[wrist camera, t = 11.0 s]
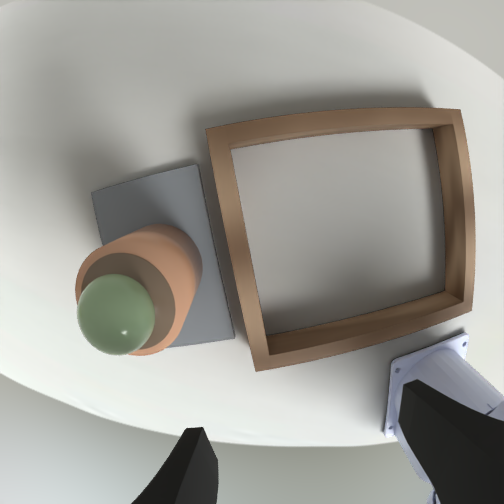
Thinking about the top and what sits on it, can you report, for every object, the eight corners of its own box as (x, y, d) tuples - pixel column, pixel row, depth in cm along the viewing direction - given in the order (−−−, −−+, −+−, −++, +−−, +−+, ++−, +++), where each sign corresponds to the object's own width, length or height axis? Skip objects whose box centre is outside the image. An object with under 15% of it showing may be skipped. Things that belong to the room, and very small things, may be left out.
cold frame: (453, 299, 20) (471, 310, 17) (254, 351, 20) (255, 371, 17) (439, 115, 16) (460, 109, 14) (210, 136, 17) (205, 128, 14)
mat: (234, 334, 19) (234, 338, 19) (138, 347, 19) (136, 351, 19) (198, 164, 17) (197, 164, 16) (94, 192, 17) (91, 192, 17)
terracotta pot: (211, 299, 18) (189, 388, 10) (135, 311, 18) (74, 391, 10) (192, 215, 17) (145, 245, 9) (113, 233, 17) (24, 273, 9)
